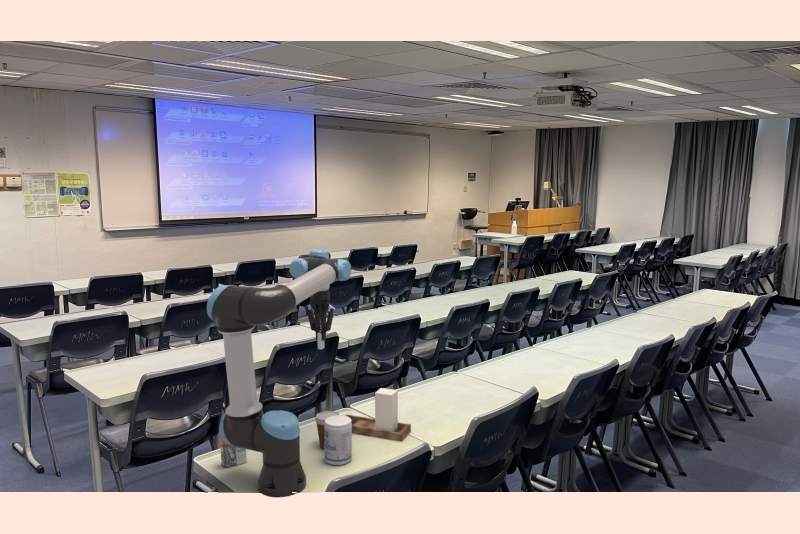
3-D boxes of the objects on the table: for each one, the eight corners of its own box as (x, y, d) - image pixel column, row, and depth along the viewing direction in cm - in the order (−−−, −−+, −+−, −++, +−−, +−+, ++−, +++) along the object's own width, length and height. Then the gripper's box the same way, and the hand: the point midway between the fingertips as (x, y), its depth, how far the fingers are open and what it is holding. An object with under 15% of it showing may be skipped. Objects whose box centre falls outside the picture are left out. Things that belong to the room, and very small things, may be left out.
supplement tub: (319, 462, 202) (318, 422, 200) (334, 451, 211) (333, 412, 209) (342, 468, 198) (341, 427, 196) (357, 457, 206) (356, 417, 204)
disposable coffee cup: (310, 448, 213) (309, 417, 211) (325, 438, 221) (324, 408, 220) (331, 454, 209) (331, 422, 207) (346, 443, 217) (345, 413, 215)
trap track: (335, 430, 229) (335, 423, 228) (346, 421, 238) (346, 414, 238) (401, 441, 219) (401, 434, 218) (410, 431, 228) (410, 424, 228)
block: (375, 430, 224) (374, 392, 222) (381, 424, 230) (381, 387, 228) (392, 432, 222) (391, 395, 220) (397, 426, 227) (397, 390, 225)
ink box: (247, 462, 202) (245, 422, 200) (224, 468, 198) (222, 427, 196) (243, 458, 205) (242, 419, 203) (221, 464, 201) (219, 424, 199)
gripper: (339, 288, 226) (340, 347, 229) (310, 286, 231) (311, 344, 234) (330, 291, 219) (331, 352, 222) (300, 289, 224) (301, 349, 227)
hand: (321, 348), depth 228 cm, fingers closed
